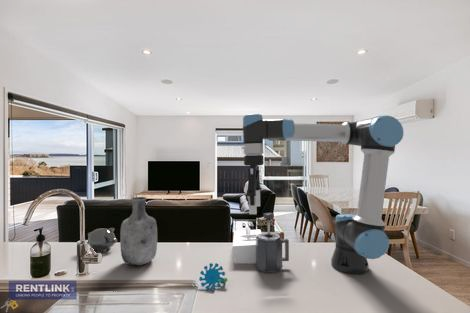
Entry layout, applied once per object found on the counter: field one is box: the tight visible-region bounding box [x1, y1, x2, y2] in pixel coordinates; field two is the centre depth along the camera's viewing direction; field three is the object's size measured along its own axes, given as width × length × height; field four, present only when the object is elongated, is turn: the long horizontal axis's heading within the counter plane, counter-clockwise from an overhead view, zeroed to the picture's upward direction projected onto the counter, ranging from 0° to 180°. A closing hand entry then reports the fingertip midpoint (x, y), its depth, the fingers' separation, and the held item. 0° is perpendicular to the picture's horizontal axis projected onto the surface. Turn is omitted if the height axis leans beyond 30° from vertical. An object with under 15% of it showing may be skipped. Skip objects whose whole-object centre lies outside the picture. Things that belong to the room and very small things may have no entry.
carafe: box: [255, 231, 290, 275], centre depth 116 cm, size 14×11×14 cm
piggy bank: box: [87, 227, 118, 254], centre depth 139 cm, size 11×15×12 cm
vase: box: [119, 196, 158, 266], centre depth 123 cm, size 16×16×30 cm
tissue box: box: [232, 226, 262, 264], centre depth 133 cm, size 14×25×11 cm, turn 179°
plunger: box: [263, 212, 275, 237], centre depth 115 cm, size 8×8×14 cm
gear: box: [198, 262, 228, 291], centre depth 103 cm, size 11×6×10 cm
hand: (255, 209), depth 103 cm, fingers open, 13 cm apart
